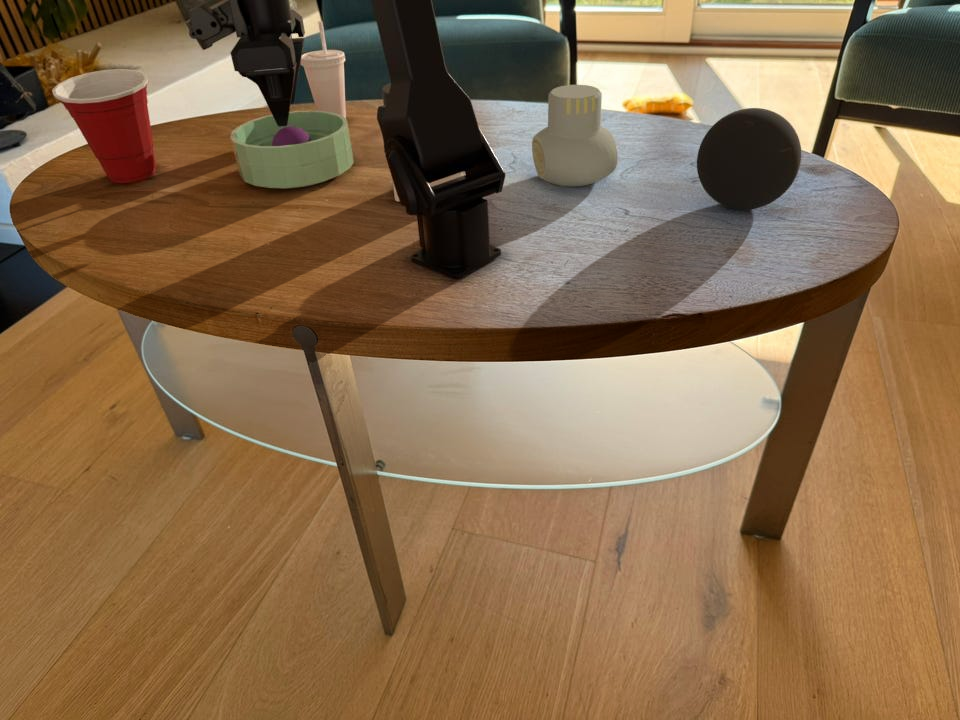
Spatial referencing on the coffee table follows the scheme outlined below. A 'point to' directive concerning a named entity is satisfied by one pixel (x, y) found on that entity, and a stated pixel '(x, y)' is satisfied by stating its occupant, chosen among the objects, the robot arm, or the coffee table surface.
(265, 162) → the bowl
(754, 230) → the coffee table surface
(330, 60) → the smoothie
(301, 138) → the ball
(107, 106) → the plastic cup
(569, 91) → the air freshener
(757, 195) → the speaker
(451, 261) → the robot arm
